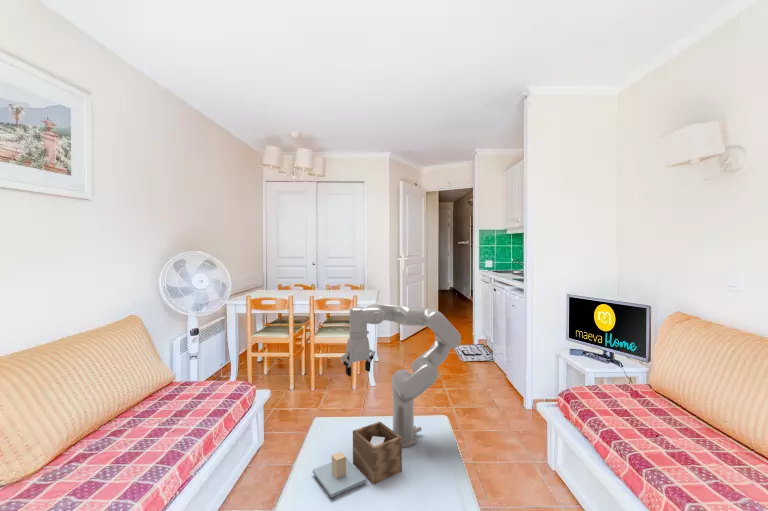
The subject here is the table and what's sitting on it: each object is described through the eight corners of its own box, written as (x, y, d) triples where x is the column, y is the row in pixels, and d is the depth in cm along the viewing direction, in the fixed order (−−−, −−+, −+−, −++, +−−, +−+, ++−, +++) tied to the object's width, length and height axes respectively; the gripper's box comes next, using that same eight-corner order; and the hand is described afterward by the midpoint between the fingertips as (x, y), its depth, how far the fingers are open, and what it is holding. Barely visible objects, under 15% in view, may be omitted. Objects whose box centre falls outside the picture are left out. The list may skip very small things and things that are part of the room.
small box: (381, 474, 133) (381, 448, 133) (367, 473, 134) (367, 446, 134) (385, 462, 141) (385, 437, 141) (372, 460, 142) (372, 435, 142)
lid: (345, 462, 141) (345, 440, 141) (366, 484, 128) (366, 460, 128) (312, 475, 133) (312, 451, 133) (331, 500, 120) (331, 474, 119)
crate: (380, 452, 148) (380, 421, 148) (401, 471, 135) (401, 437, 135) (352, 463, 140) (352, 430, 140) (373, 484, 128) (373, 448, 127)
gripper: (370, 330, 161) (370, 367, 161) (336, 336, 151) (337, 374, 151) (379, 333, 155) (379, 371, 155) (344, 339, 145) (345, 380, 145)
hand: (358, 373), depth 153 cm, fingers open, 9 cm apart
